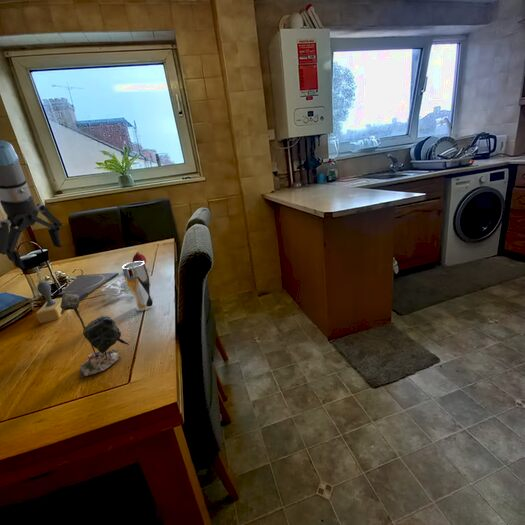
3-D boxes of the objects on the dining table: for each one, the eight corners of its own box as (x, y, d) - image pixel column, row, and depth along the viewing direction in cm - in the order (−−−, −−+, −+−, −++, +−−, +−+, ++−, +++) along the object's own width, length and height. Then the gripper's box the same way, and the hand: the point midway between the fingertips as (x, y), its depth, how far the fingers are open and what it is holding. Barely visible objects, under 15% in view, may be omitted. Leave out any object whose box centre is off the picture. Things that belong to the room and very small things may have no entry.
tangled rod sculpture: (119, 282, 120) (115, 273, 118) (152, 274, 120) (149, 266, 119) (98, 302, 101) (93, 292, 100) (137, 293, 102) (133, 283, 100)
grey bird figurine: (131, 363, 65) (105, 287, 58) (76, 382, 61) (41, 302, 54) (131, 345, 72) (108, 275, 65) (82, 360, 68) (52, 287, 61)
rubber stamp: (51, 309, 99) (37, 278, 94) (69, 305, 100) (57, 275, 96) (39, 323, 90) (24, 290, 85) (59, 318, 91) (45, 285, 87)
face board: (42, 297, 110) (41, 295, 110) (78, 276, 129) (78, 274, 128) (88, 294, 108) (87, 292, 107) (118, 274, 126) (117, 272, 126)
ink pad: (61, 303, 103) (60, 299, 102) (71, 296, 107) (70, 293, 107) (78, 302, 102) (77, 298, 101) (87, 295, 107) (86, 292, 106)
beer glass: (131, 307, 93) (118, 266, 87) (151, 299, 97) (139, 259, 92) (139, 314, 88) (125, 270, 83) (160, 305, 92) (148, 263, 87)
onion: (142, 270, 127) (137, 254, 124) (132, 270, 129) (127, 254, 126) (150, 265, 132) (146, 249, 129) (141, 265, 134) (136, 249, 131)
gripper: (-21, 218, 71) (11, 281, 84) (63, 187, 91) (79, 241, 103) (-44, 211, 72) (-8, 273, 85) (44, 181, 92) (62, 236, 104)
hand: (40, 256), depth 94 cm, fingers open, 13 cm apart
